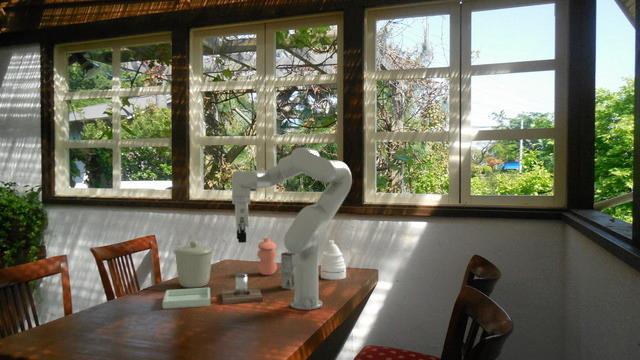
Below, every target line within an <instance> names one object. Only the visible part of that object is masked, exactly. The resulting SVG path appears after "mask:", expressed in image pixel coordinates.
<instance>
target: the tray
mask: <svg viewBox="0 0 640 360" xmlns="http://www.w3.org/2000/svg"><path fill="white" fill-rule="evenodd" d="M198 307H200V308H201V307H211V287H196V288H180V289H166V291H165V294H164V297H163V299H162V310H169V309H170V310H171V309H173V310H174V309H186V308H198Z"/></svg>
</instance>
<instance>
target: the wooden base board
mask: <svg viewBox="0 0 640 360" xmlns="http://www.w3.org/2000/svg"><path fill="white" fill-rule="evenodd" d="M221 300H222V304H223V305H229V304H231V305H232V304H243V303H246V302H247V303H258V302H257V301H260V302H263V301H264V297H263V294H262V292H261V290H260V287H259V286H256V287H255V286H254V287H248V295H237V296H236V288H228V289H227V288H225V289H221Z"/></svg>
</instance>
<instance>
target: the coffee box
mask: <svg viewBox="0 0 640 360" xmlns="http://www.w3.org/2000/svg"><path fill="white" fill-rule="evenodd" d="M280 257H281V259H280V261H281V267H280V268H281V275H282V283H281V288H282V289H286V290H294V261H295V253H291V252H289V251H288V250H287V251H286V252H285V251H284V252H282V253H281V255H280Z"/></svg>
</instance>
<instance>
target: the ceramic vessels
mask: <svg viewBox="0 0 640 360" xmlns="http://www.w3.org/2000/svg"><path fill="white" fill-rule="evenodd" d="M257 248H258V249H259V250H258V251H257V254H256V255H257V258H258V259H259V260H260V261H258V263H257V271H258V273H259V274H261V275H262V276H270V275H273V274H274V273H275V272H276V271H277V269H278V266H277V262H276V261H275V260H274V259H276V257H277V255H278V253H277V251H276V250H275V249H276V248H277V244H276V243H275V242H273V241H271V238H270V237H264V238H263V241H261V242H260V243H258V245H257ZM274 282H276V283H278V284H282V274H279V276H277V277H275V278H274Z"/></svg>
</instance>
